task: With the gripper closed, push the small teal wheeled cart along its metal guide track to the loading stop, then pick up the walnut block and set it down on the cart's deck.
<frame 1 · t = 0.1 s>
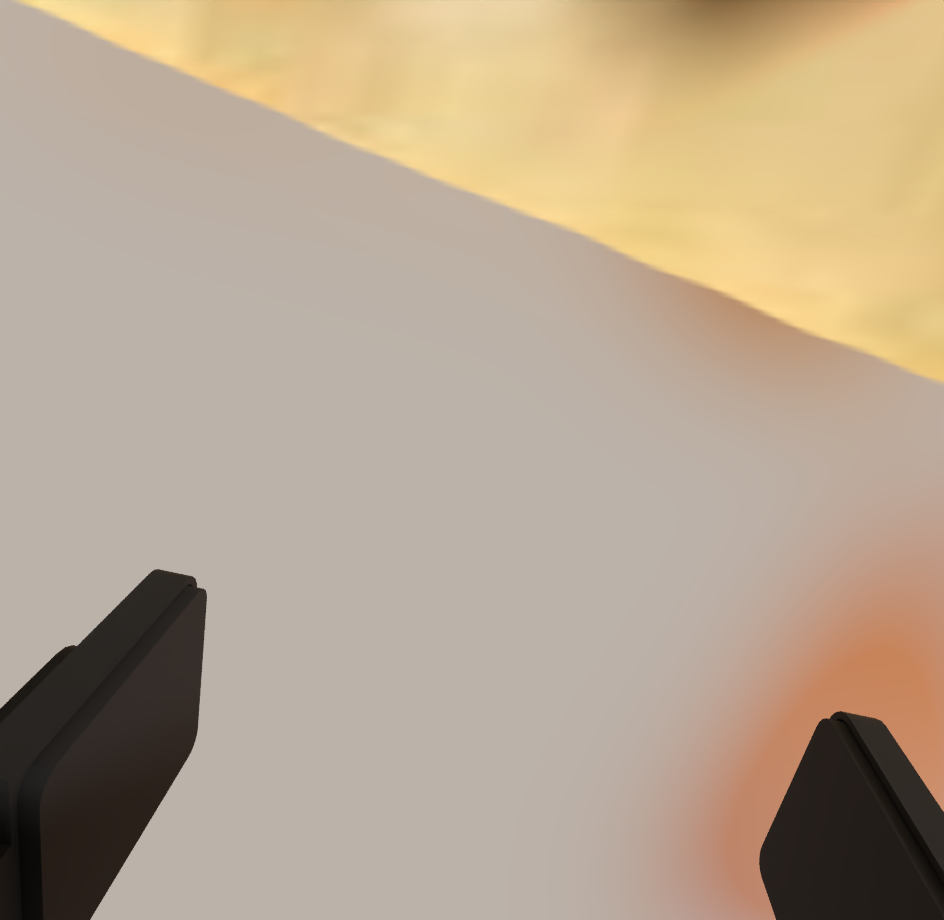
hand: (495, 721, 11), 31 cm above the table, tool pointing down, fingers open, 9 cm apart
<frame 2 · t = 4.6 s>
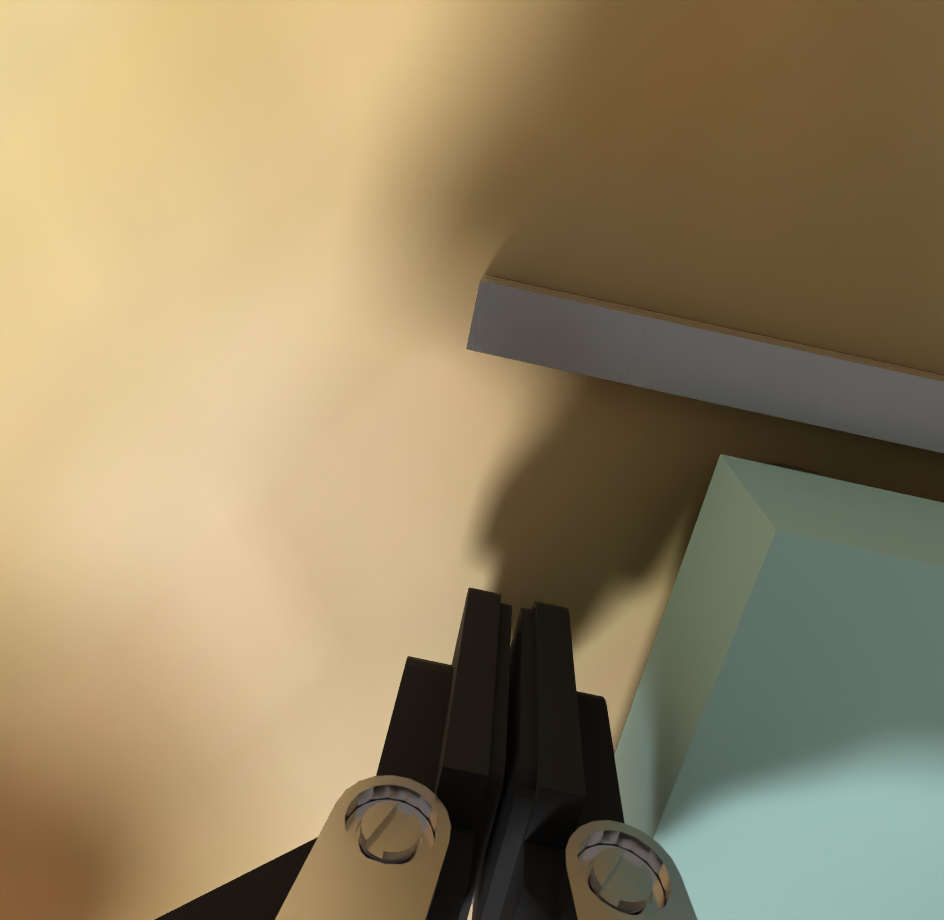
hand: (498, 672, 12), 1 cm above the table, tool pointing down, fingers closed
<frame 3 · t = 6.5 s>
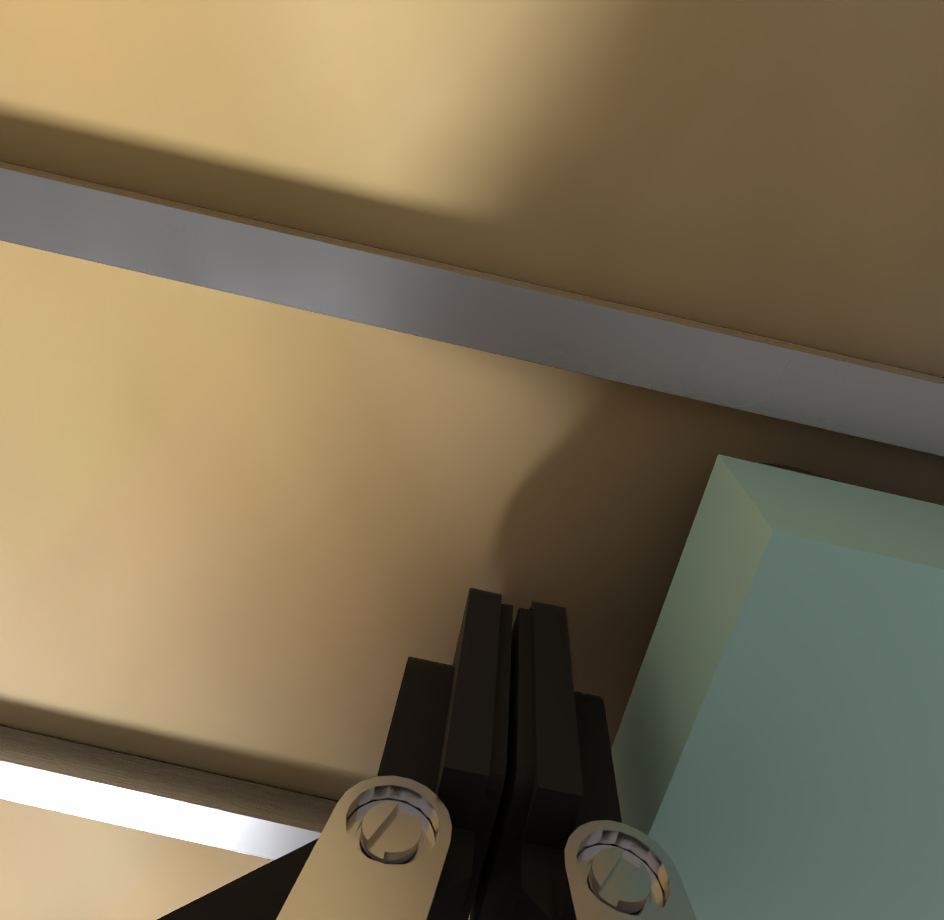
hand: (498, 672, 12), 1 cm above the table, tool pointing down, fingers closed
track: (549, 636, 13), on the table
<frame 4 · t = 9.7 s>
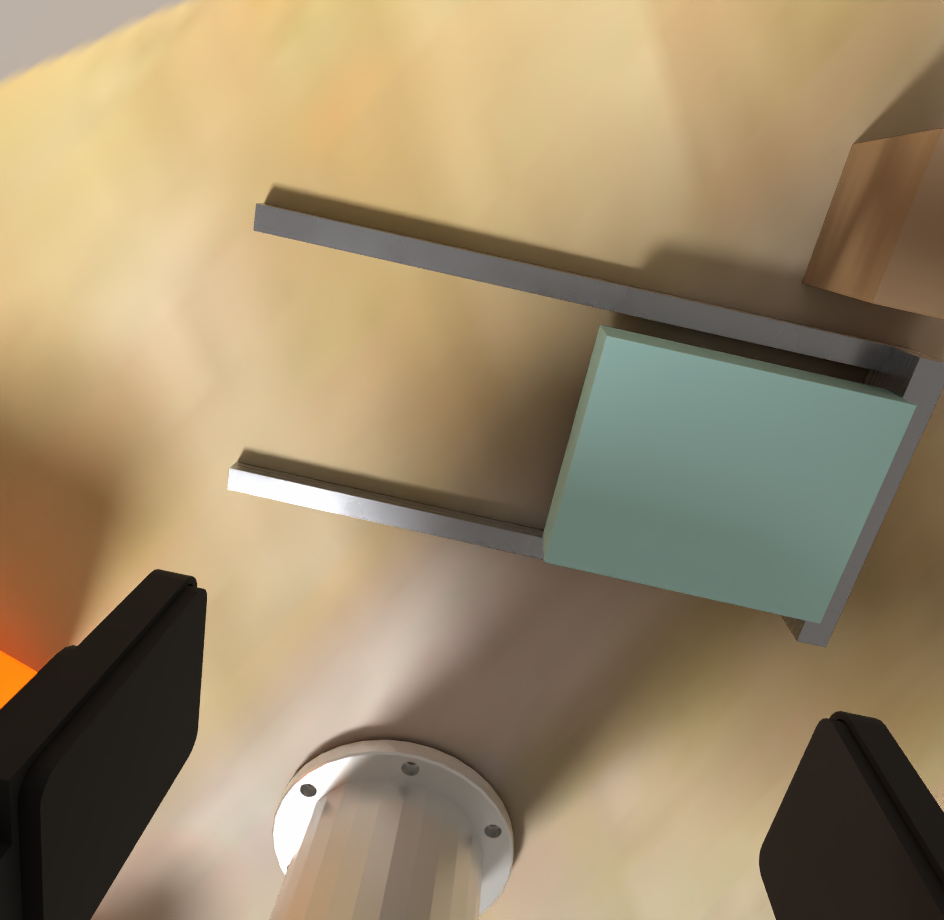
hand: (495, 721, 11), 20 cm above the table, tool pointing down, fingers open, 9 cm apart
track: (539, 417, 30), on the table
block: (891, 230, 27), on the table
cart: (706, 469, 28), point 2 cm above the table, slide at 10.7 cm
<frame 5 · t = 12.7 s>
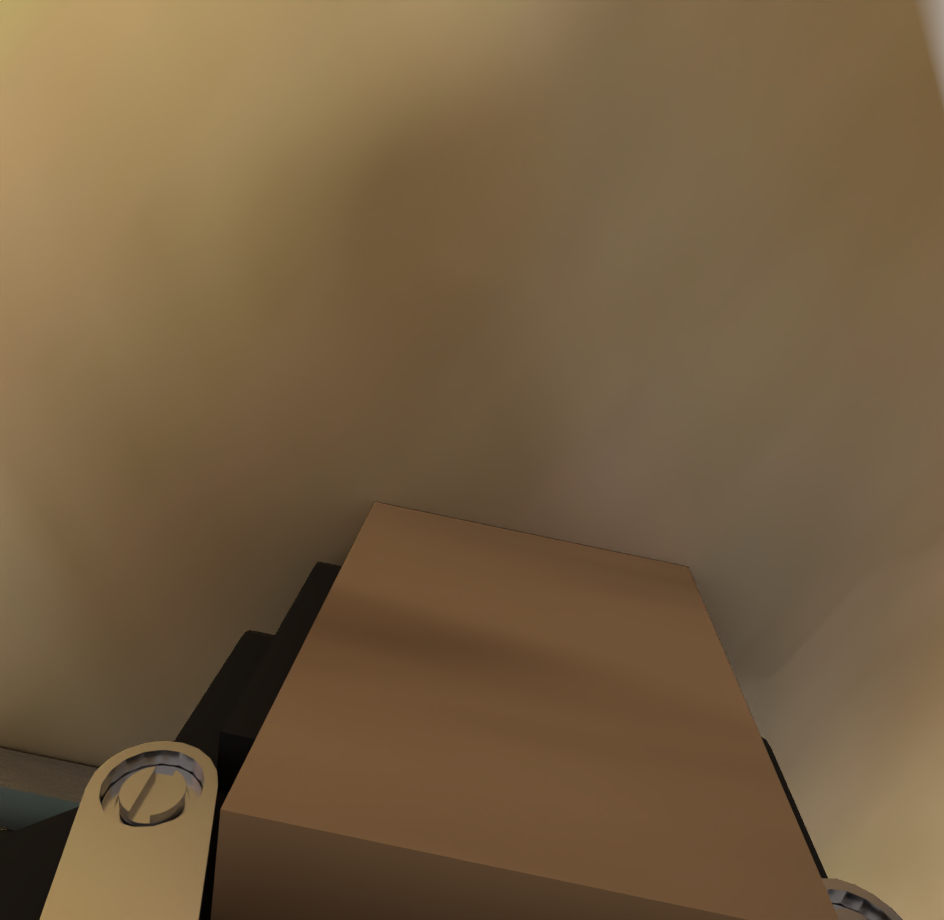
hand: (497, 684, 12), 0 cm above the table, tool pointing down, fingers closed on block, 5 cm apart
block: (498, 665, 12), on the table, touching gripper
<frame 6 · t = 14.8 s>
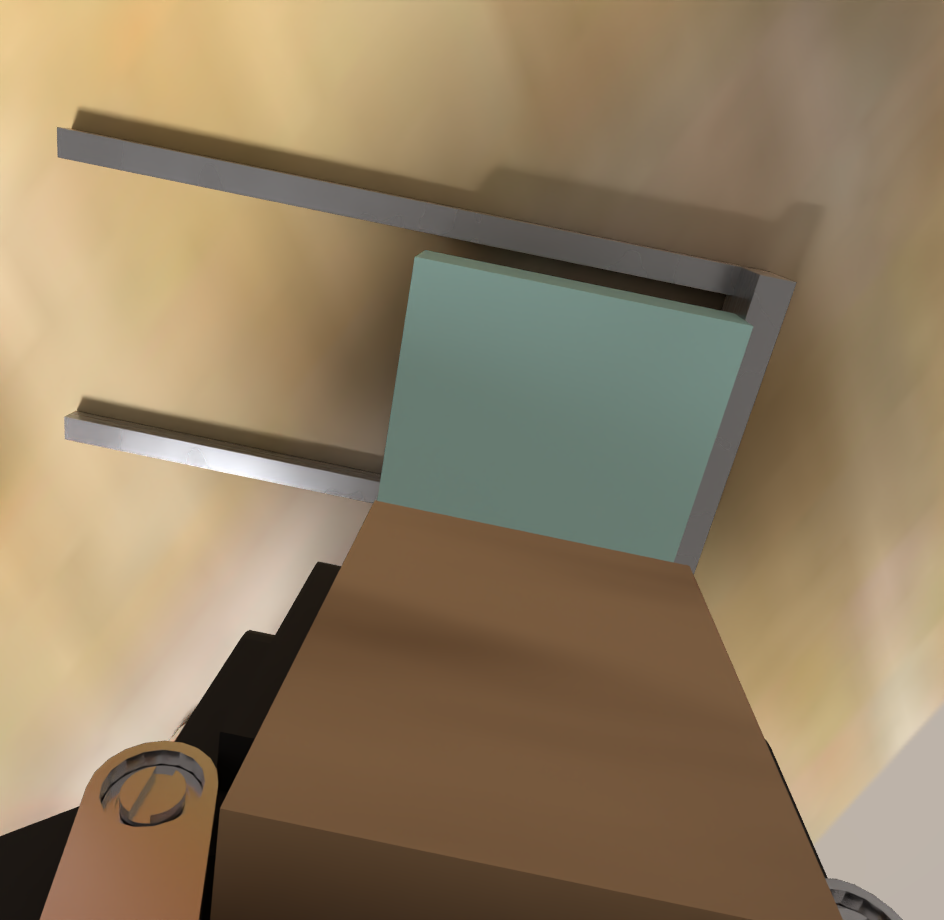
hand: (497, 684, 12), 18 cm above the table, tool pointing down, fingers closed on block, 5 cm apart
track: (383, 356, 28), on the table
block: (499, 664, 12), point 17 cm above the table, touching gripper
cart: (550, 405, 26), point 2 cm above the table, slide at 10.7 cm
when the fingers open (6 cm above the table, at t = 17.1 s): block drops 1 cm, resting on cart.
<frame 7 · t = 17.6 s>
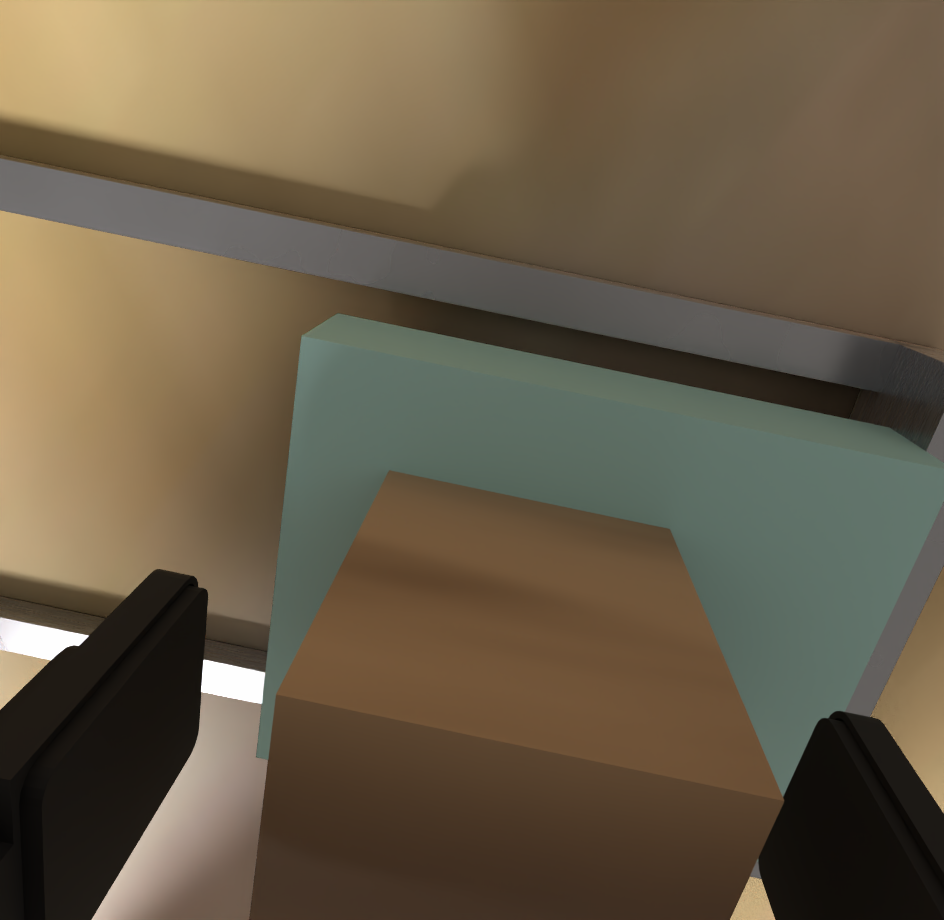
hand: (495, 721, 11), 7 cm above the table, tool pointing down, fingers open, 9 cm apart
track: (281, 478, 17), on the table
block: (500, 619, 13), point 4 cm above the table, touching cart
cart: (560, 578, 15), point 2 cm above the table, slide at 10.7 cm, touching block
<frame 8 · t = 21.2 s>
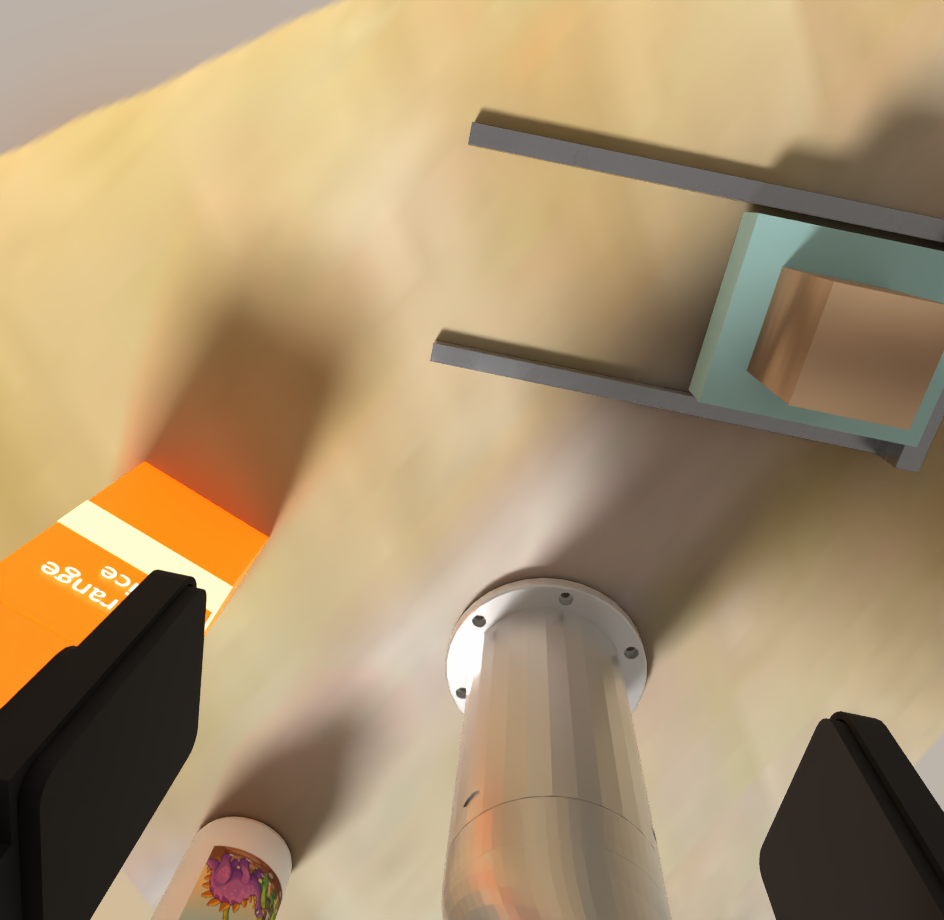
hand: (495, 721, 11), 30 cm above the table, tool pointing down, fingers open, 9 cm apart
track: (685, 295, 38), on the table
orange juice: (182, 543, 45), on the table
milk bottle: (245, 849, 54), on the table
block: (815, 331, 34), point 4 cm above the table, touching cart
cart: (825, 328, 36), point 2 cm above the table, slide at 10.7 cm, touching block
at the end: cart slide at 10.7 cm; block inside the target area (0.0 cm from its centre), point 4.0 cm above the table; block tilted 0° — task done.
